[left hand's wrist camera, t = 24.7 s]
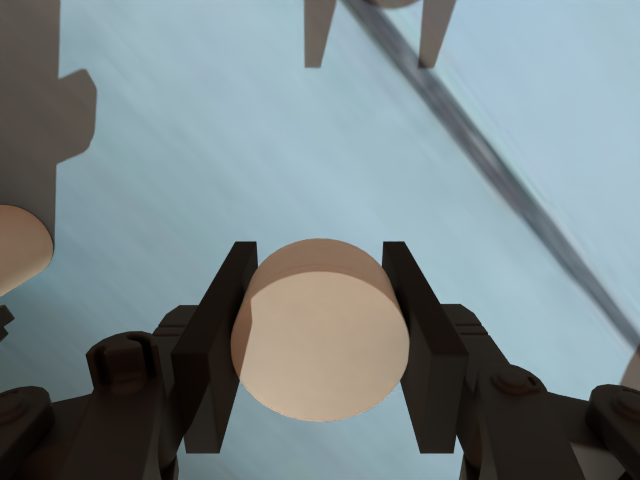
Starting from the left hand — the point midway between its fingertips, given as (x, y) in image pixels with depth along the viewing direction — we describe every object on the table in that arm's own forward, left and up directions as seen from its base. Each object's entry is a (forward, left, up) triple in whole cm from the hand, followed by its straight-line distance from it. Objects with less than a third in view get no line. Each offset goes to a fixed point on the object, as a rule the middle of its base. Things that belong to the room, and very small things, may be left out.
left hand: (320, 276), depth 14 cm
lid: (0, 0, +4) cm, 4 cm away
